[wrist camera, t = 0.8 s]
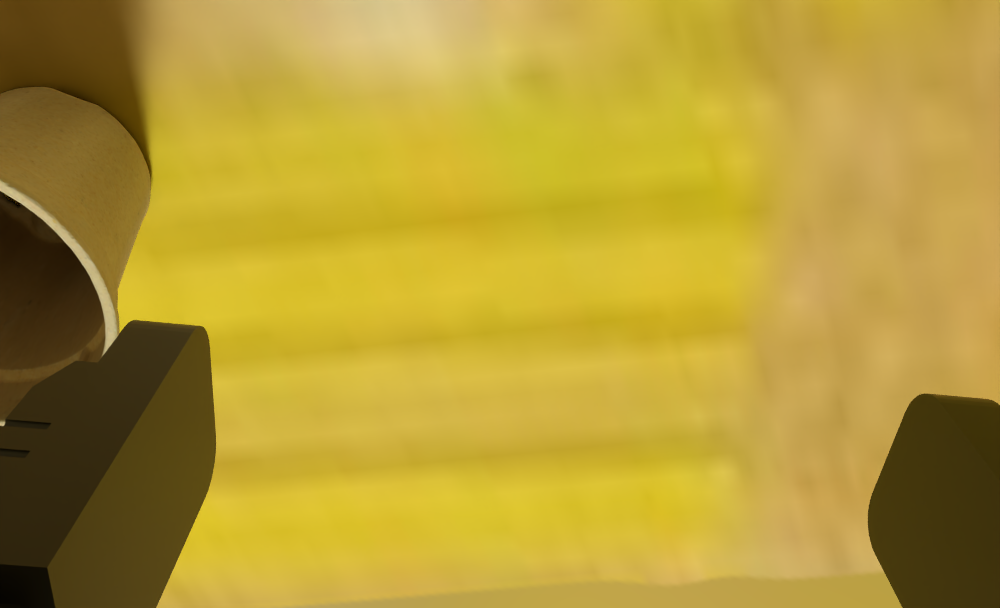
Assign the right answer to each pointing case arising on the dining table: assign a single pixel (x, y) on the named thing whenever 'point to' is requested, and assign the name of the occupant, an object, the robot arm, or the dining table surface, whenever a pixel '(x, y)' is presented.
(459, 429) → the dining table surface
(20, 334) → the flower pot
